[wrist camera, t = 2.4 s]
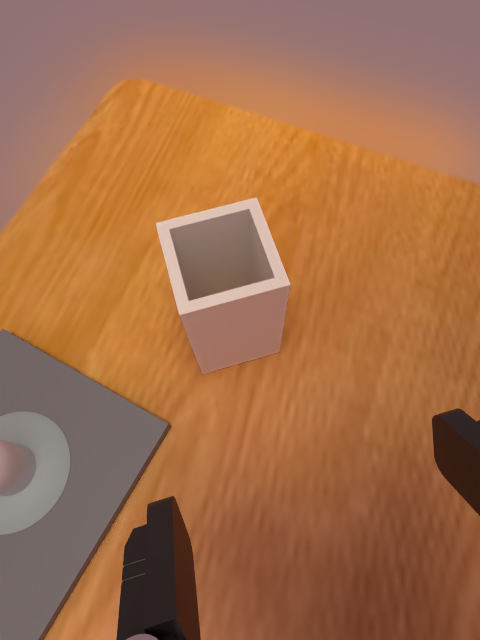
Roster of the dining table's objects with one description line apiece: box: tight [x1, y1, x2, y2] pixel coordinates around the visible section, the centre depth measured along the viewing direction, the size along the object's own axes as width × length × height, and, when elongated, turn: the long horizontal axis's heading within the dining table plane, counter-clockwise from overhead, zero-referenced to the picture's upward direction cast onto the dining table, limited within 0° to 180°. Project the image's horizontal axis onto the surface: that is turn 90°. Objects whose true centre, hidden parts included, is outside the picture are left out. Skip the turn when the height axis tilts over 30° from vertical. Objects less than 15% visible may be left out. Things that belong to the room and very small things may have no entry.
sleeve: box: [156, 197, 290, 374], centre depth 26 cm, size 6×6×10 cm
